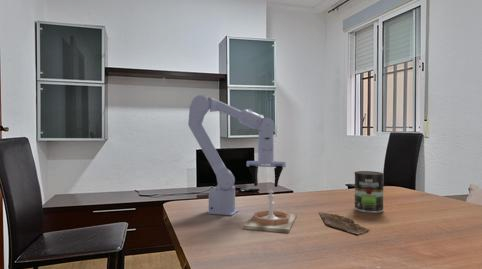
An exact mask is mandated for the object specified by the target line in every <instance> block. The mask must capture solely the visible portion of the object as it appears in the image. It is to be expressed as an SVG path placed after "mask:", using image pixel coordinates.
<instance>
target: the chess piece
mask: <svg viewBox="0 0 482 269" xmlns="http://www.w3.org/2000/svg"><path fill="white" fill-rule="evenodd" d="M274 193H275V192H274V191H273V190H272V189H270V190H269V191H268V195H267V198H268V202H267V204H268V205H269V208H268V210H269V214H268V216H266V217H264V219H278V217H276V216H275V215H274V213H273V211H274V207H273V205H274V204H275V202H274V198H275V195H274Z"/></svg>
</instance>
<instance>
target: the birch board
mask: <svg viewBox="0 0 482 269" xmlns="http://www.w3.org/2000/svg"><path fill="white" fill-rule="evenodd" d="M257 212H259V211H257ZM289 214H290V221H289V223H285V224H279V225H268V224H260V223H258V222H256V221H254V220H253V216H252V217H250V218H249V220H247V222H245V223H244V225H243V229H244V230H252V231H253V230H255V231H266V232H275V233H285V232H286V233H288V234H289V233H290V232H291V230H292V228H293V226H294V223H295V221H296V219H297V218H298V217H297V215H298V214H297V213H289ZM267 216H268V215H267ZM264 217H266V216H260V218H262V219H264ZM276 217H278V219H281V218H284V217H282V216H276ZM286 233H285V234H286Z"/></svg>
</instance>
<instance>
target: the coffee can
mask: <svg viewBox="0 0 482 269" xmlns="http://www.w3.org/2000/svg"><path fill="white" fill-rule="evenodd" d="M353 173H354V210H356V211H357V212H361V213H362V212H363V213H368V214H379V213H383V212H384V175H385V174H384V173H383V172H381V171H380V172H379V171H372V170H371V171H368V170H358V171H354V172H353Z"/></svg>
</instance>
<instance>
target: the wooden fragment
mask: <svg viewBox="0 0 482 269" xmlns="http://www.w3.org/2000/svg"><path fill="white" fill-rule="evenodd" d="M318 214H319V215H320V217H321V218H322V220H323V222H324V223H325V225H327V226H329V227H333V228H335V229H339V230H342V231H345V232H348V233H352V234H355V235H356V234H357V236H361V235H365V234H366V233H368V232H370V229H369V228H367V227H364V226H361V225H360V224H359V223H358V224H357V223H355V220H353V219H352V218H348V217H345V216H344V215H339V214H337V213H335V214H333V213H326V212H318Z"/></svg>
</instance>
